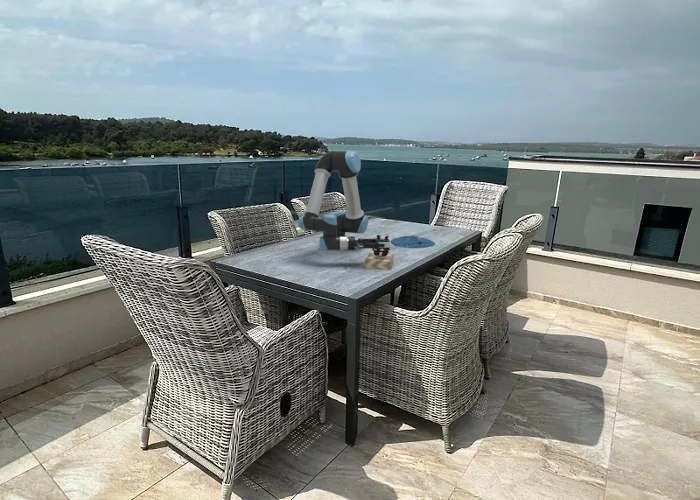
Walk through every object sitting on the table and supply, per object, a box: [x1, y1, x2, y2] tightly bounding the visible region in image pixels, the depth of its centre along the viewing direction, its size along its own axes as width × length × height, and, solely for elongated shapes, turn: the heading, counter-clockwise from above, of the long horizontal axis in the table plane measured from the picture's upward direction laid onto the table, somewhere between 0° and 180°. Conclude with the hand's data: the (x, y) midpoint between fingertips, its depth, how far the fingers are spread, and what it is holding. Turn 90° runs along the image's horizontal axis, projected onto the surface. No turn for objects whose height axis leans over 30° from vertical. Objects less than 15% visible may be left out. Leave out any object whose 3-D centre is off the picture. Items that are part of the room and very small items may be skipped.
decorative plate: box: [390, 234, 435, 249], centre depth 260 cm, size 30×30×5 cm
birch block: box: [364, 252, 395, 271], centre depth 210 cm, size 14×14×5 cm
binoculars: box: [372, 234, 391, 256], centre depth 206 cm, size 9×11×10 cm
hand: (389, 243), depth 208 cm, fingers closed on binoculars, 6 cm apart
